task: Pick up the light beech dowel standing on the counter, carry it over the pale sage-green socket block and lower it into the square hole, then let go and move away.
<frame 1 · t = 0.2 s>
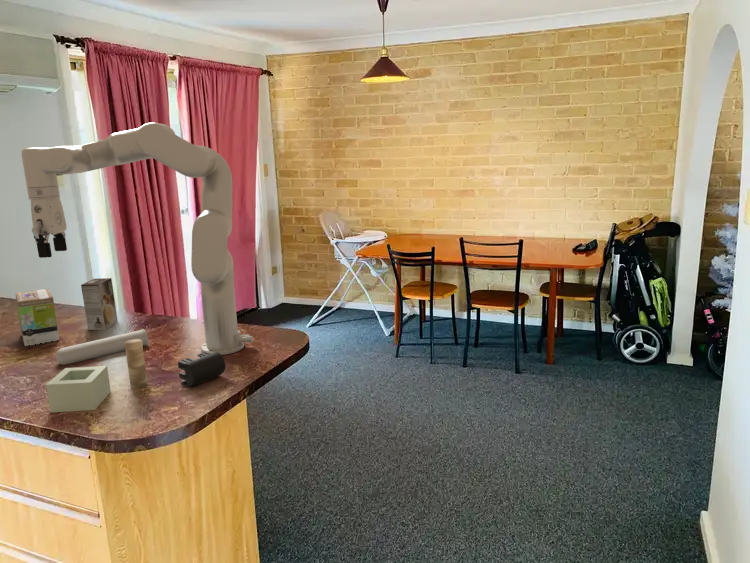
hand: (53, 253, 159), 31 cm above the countertop, tool pointing down, fingers open, 9 cm apart
tea box: (40, 338, 183), on the countertop
socket block: (81, 401, 136), on the countertop
tube: (104, 355, 167), on the countertop
peg: (139, 385, 144), on the countertop
coffee box: (103, 326, 194), on the countertop
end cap: (203, 381, 147), on the countertop
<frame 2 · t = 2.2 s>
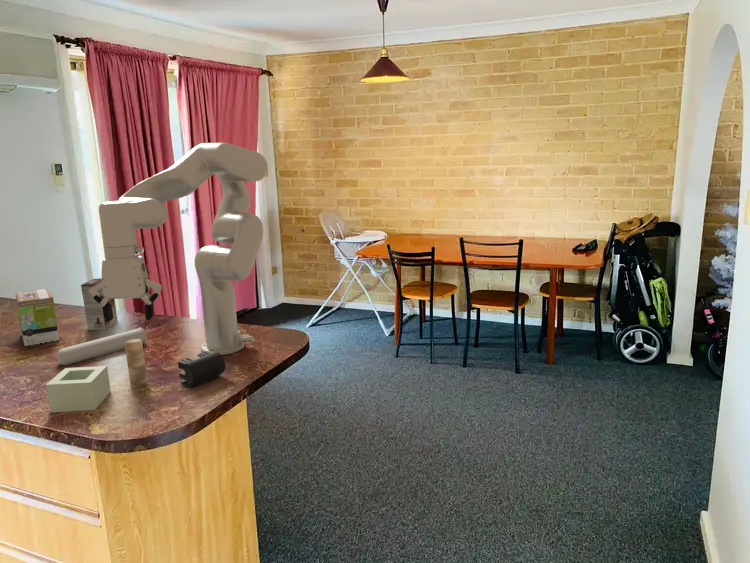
hand: (129, 319, 140), 18 cm above the countertop, tool pointing down, fingers open, 9 cm apart
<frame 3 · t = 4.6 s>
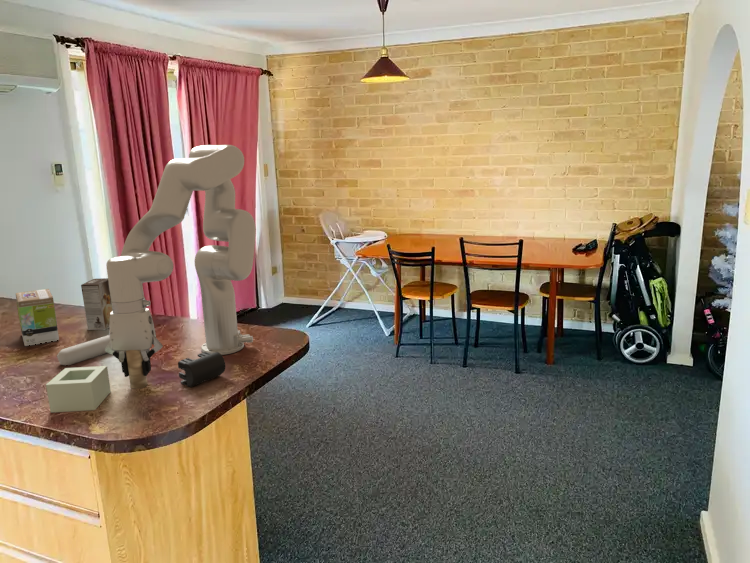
hand: (137, 373, 143), 3 cm above the countertop, tool pointing down, fingers closed on peg, 4 cm apart
peg: (138, 385, 144), on the countertop, touching gripper
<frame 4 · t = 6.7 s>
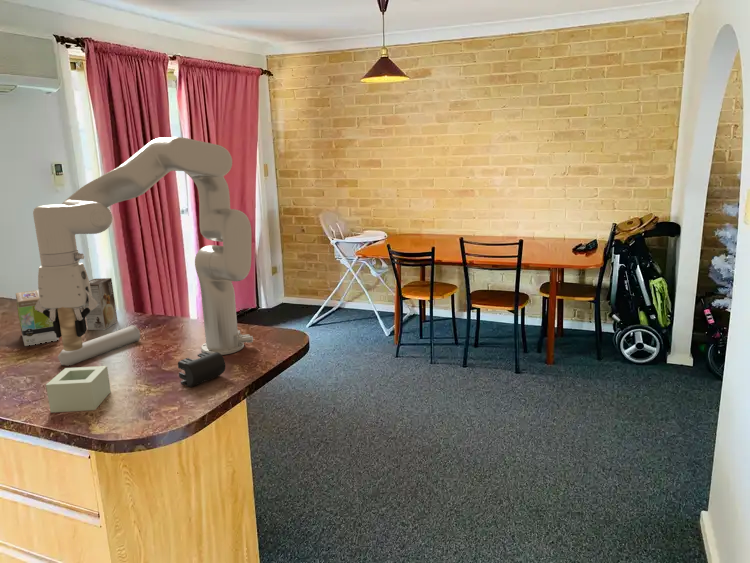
hand: (71, 334, 131), 17 cm above the countertop, tool pointing down, fingers closed on peg, 4 cm apart
peg: (73, 347, 132), point 14 cm above the countertop, touching gripper
when the fingers open (8 cm above the countertop, at t = 8.9 s): peg drops 4 cm, resting on socket block.
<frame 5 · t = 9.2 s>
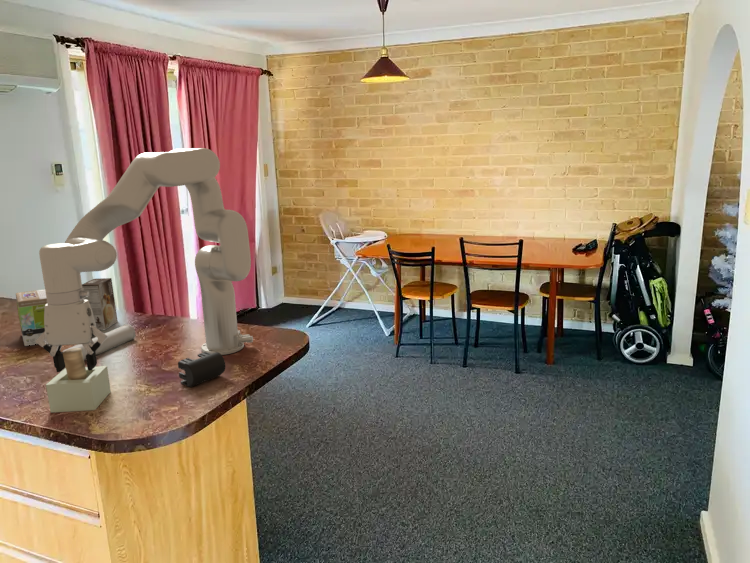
hand: (76, 368, 134), 9 cm above the countertop, tool pointing down, fingers open, 6 cm apart
peg: (81, 397, 135), point 1 cm above the countertop, touching socket block
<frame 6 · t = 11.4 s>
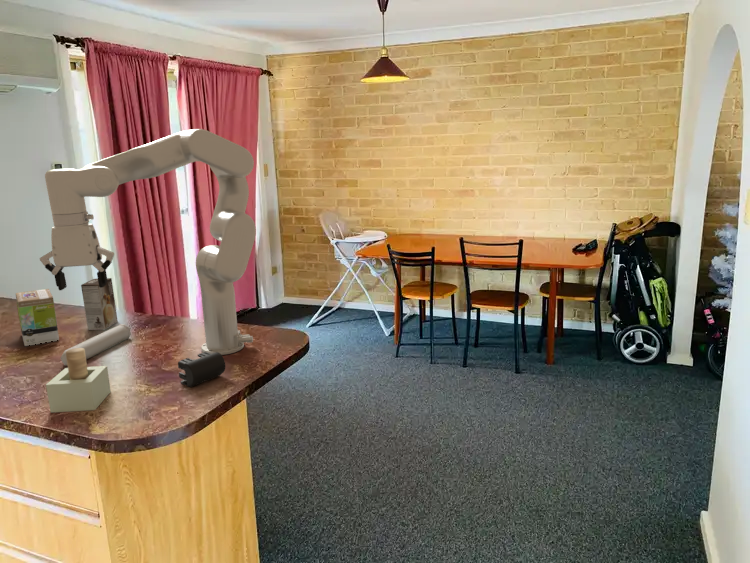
hand: (83, 287, 141), 26 cm above the countertop, tool pointing down, fingers open, 9 cm apart
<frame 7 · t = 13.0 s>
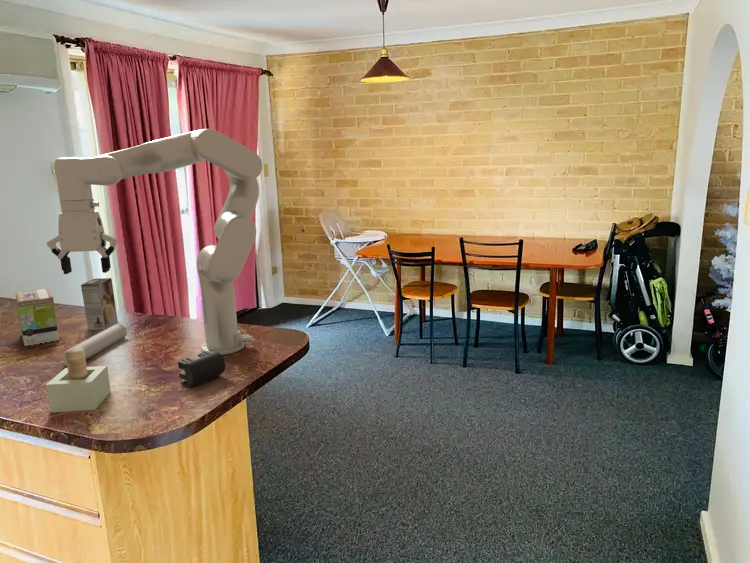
hand: (87, 272, 146), 28 cm above the countertop, tool pointing down, fingers open, 9 cm apart
at the end: peg 0.2 cm off-centre on the socket block, point 1.1 cm above the socket block's base; peg tilted 1°; the gripper is holding nothing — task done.
